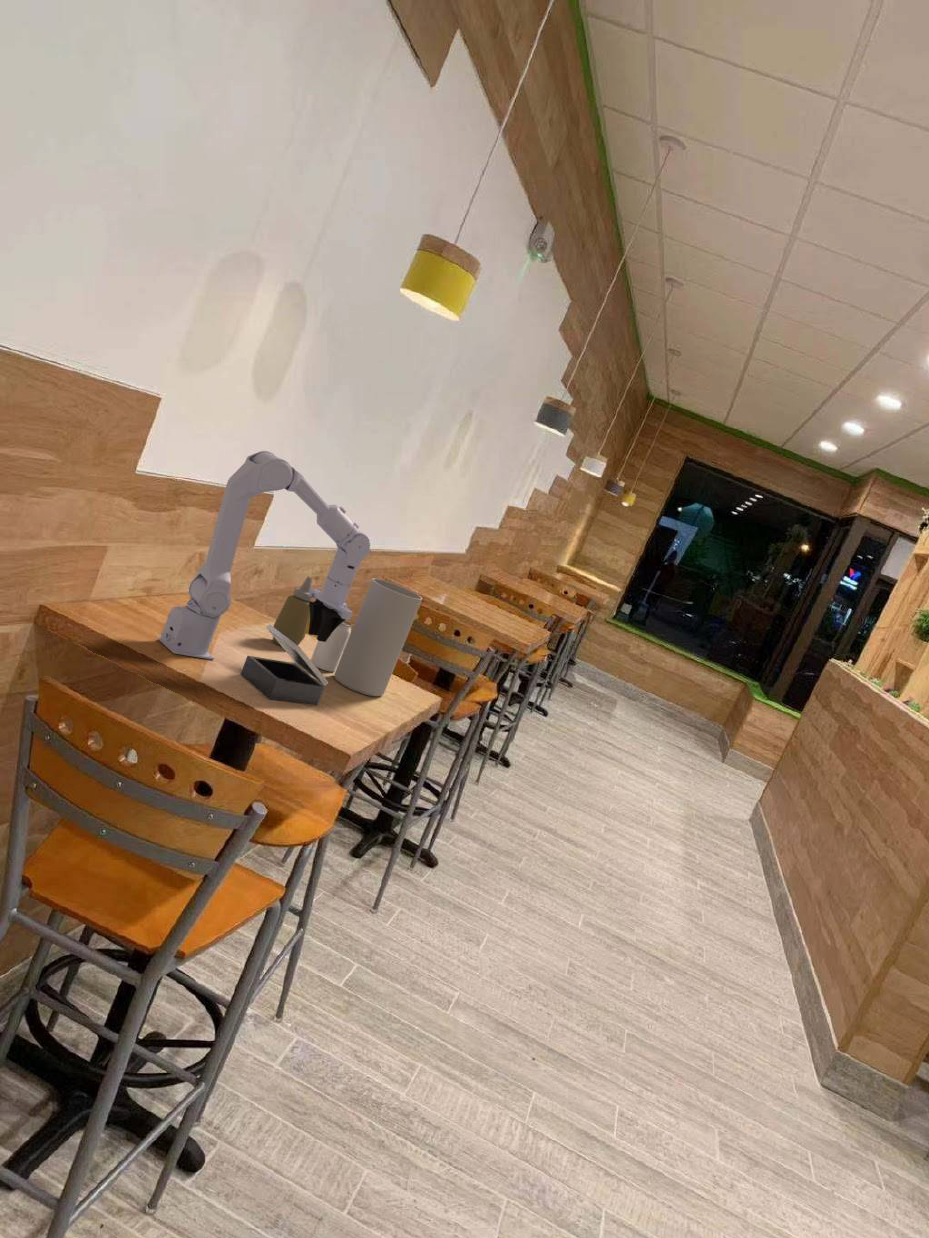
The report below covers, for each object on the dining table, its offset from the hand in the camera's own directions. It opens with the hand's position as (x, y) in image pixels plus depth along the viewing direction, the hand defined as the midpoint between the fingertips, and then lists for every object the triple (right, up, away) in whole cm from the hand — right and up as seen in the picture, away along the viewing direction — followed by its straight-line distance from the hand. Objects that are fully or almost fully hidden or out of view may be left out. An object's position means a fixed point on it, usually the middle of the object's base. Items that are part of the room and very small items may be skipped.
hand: (316, 637), depth 203 cm
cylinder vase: (+8, -12, +12) cm, 19 cm away
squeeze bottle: (-12, -2, +21) cm, 24 cm away
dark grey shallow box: (-5, -10, -16) cm, 19 cm away
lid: (-2, -4, -16) cm, 16 cm away
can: (-1, -8, +16) cm, 18 cm away
